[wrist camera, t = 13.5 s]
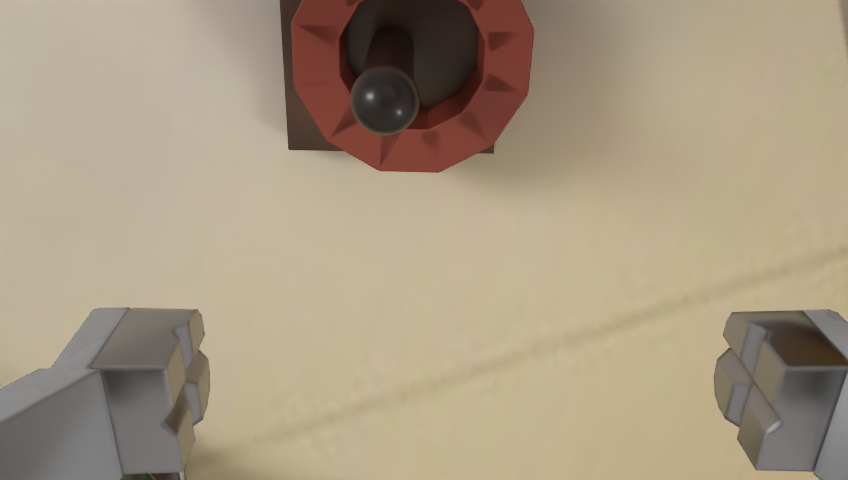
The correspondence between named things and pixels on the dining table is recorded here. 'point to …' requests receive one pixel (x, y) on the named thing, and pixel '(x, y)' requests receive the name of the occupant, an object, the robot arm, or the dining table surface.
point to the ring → (431, 129)
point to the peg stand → (390, 64)
